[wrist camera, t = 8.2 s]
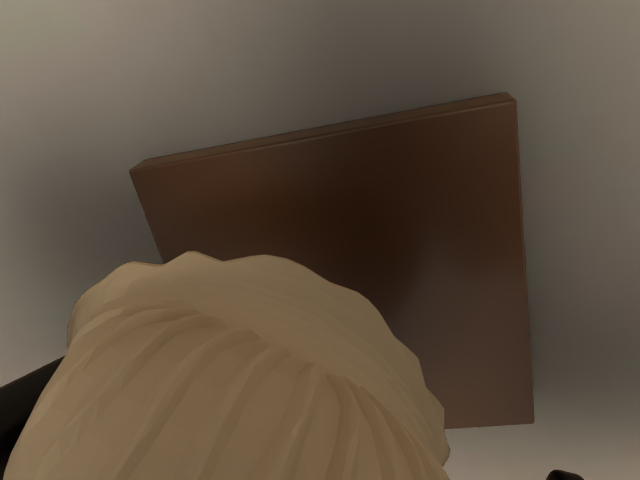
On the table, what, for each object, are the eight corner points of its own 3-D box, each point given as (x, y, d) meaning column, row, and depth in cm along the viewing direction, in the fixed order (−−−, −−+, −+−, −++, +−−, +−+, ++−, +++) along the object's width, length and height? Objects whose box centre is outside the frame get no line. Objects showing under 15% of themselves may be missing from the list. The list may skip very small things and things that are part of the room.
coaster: (238, 421, 15) (231, 443, 14) (143, 159, 12) (126, 170, 11) (527, 401, 13) (535, 424, 13) (508, 90, 10) (516, 98, 9)
